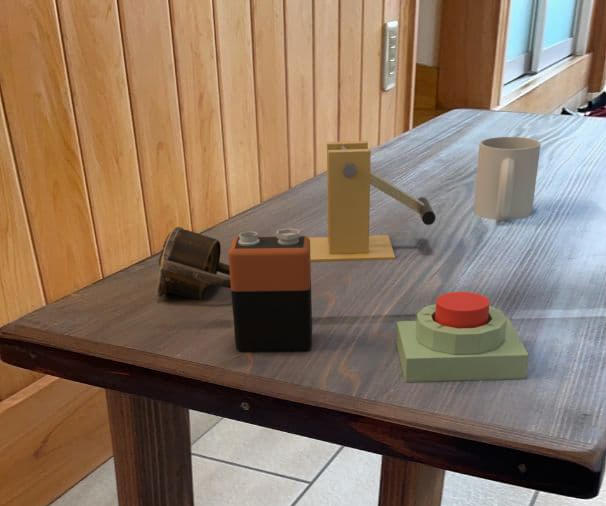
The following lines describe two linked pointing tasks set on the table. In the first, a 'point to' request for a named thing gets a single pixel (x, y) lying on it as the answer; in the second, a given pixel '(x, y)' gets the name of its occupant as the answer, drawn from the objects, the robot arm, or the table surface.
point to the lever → (403, 197)
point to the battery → (271, 291)
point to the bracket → (349, 209)
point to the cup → (506, 177)
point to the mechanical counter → (190, 264)
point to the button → (462, 310)
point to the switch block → (460, 349)
